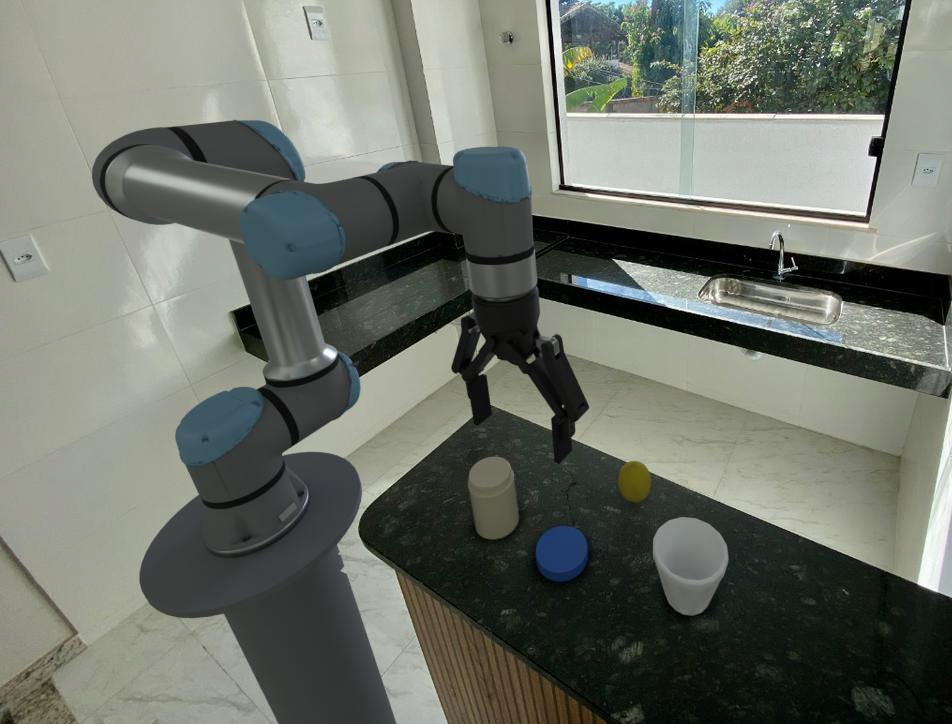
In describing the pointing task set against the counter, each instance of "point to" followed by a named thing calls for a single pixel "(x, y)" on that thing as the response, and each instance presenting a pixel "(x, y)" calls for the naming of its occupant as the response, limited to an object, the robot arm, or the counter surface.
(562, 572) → the jar lid
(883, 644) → the counter surface
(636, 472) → the lemon
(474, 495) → the jar
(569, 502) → the counter surface
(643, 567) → the counter surface
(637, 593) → the counter surface
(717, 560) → the cup
